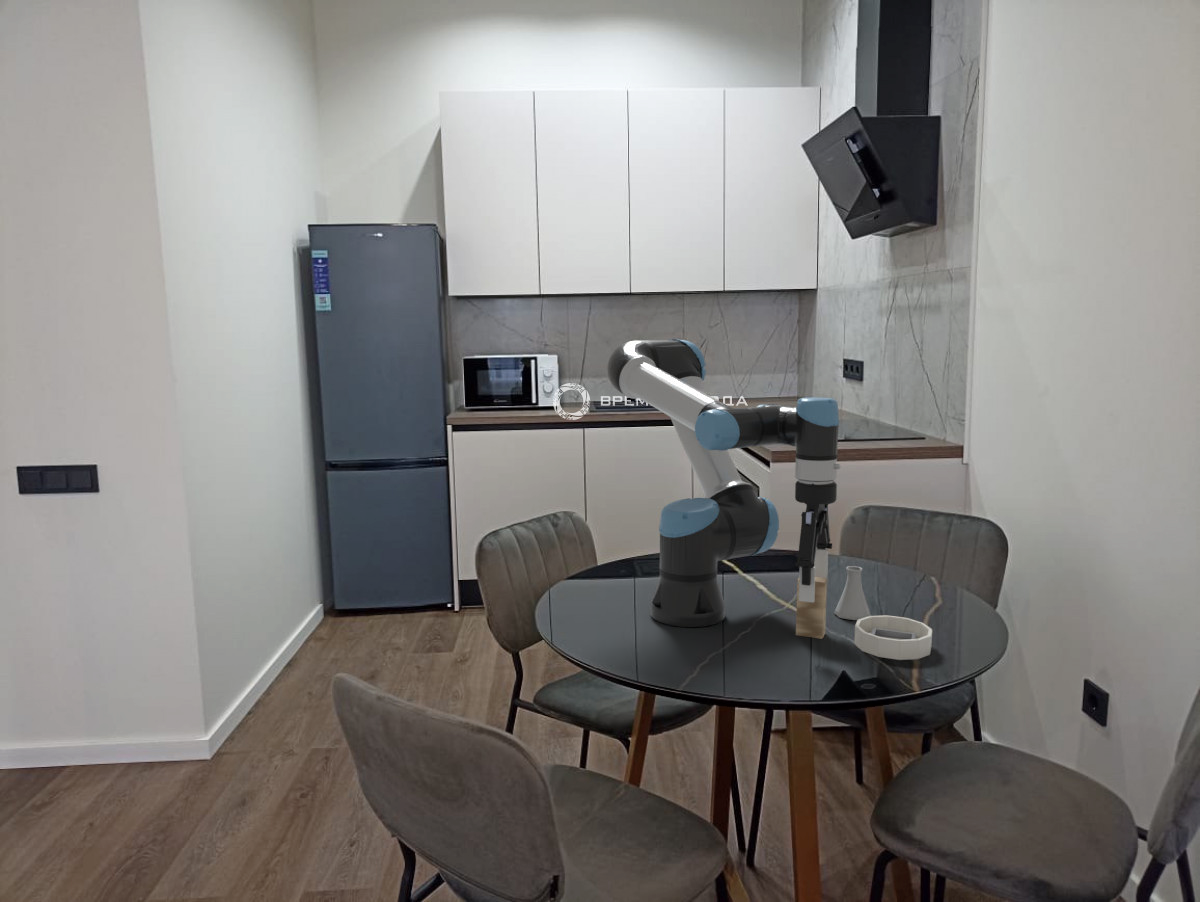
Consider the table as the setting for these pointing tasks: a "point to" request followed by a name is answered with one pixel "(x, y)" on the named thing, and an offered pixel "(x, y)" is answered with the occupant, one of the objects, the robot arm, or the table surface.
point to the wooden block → (812, 612)
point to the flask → (853, 597)
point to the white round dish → (893, 637)
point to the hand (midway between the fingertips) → (813, 591)
